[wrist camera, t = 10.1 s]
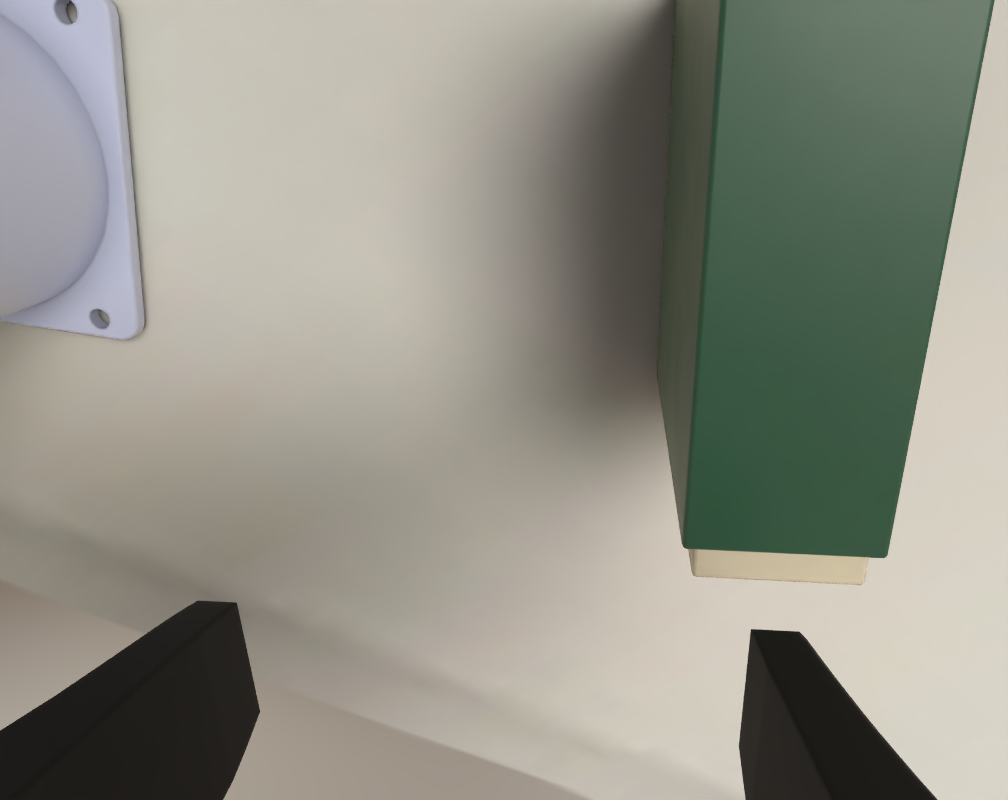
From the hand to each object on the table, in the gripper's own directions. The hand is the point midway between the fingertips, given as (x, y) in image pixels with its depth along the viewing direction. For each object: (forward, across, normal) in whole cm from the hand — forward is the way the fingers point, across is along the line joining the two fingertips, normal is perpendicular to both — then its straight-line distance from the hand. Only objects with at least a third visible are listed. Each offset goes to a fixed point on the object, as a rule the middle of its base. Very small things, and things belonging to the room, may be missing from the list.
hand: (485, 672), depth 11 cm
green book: (+9, -4, -5) cm, 11 cm away
